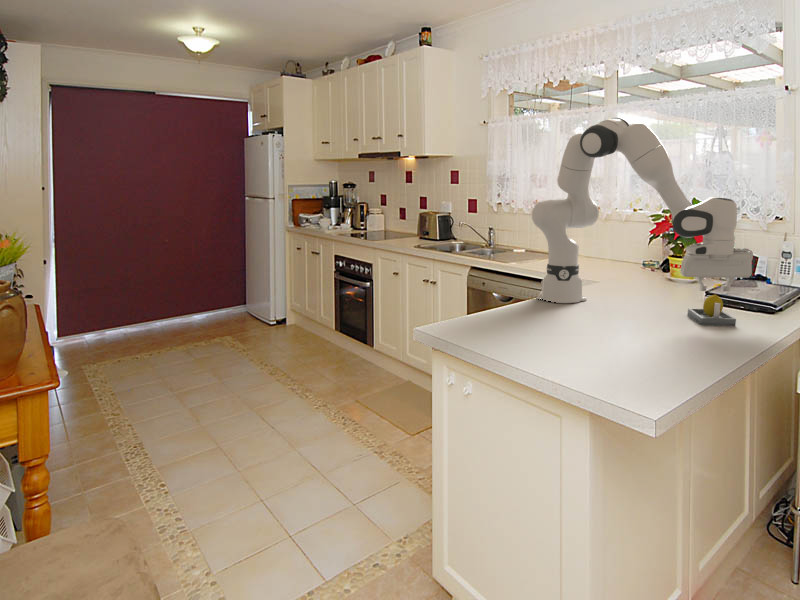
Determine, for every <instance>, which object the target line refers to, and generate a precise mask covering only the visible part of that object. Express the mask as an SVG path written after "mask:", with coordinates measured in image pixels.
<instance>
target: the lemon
mask: <svg viewBox="0 0 800 600" xmlns="http://www.w3.org/2000/svg"><path fill="white" fill-rule="evenodd" d="M707 297H708V298H706V300H705V302H704V301H703V306H702V307H703V308H702V309H703V310H704V312H705V313H706V314H707V315H709V317H713V316H714V306H715V303H721V304H720V313H721V311H723V308H724V302H723V300H722V298H721V297H720V296H718V295H717V294H712V295H709V296H707Z"/></svg>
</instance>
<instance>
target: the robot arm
mask: <svg viewBox="0 0 800 600" xmlns="http://www.w3.org/2000/svg"><path fill="white" fill-rule="evenodd" d="M615 152H619V153H621V154H622V155H623V156H625V158H626V160H627V161H628V163H629V165H630V167H631V168H632V169H633V171H634V172H635V173H636V174H637V175H638V176H639V178H640V179H642V181H643V182H645V183H646V184H648V185H650V186H651V187H652V188H653V189H654V190H655V191H656V192H657V193H658V194H659V196H660V197H661V198H662V201H663V202H664V204H665V205H666V206H667V208H668V211H670V214H671V223H672V228H673V231H674V232H675V233H676V234H677V235H678V236H679V237H682V238H689V239H690V238H695V237H700V236H702V241H701V242H698V243H694V244H691V245H688V246H686V248H685V252H686V253H685V255H683V258H682V260H681V264H680V274H681V276H683V277H685V278H696V281H697V283H698V284H699V291H701V292H706V291H707V286H708V285H707V284H704V283H703V281H704V278H725V281H726V282H725V283H724V284H722V285H721V288H720V289H721V291H722V292H729V287H730V285H732V283H733V282H734V279H735V278H737V279H738V278H740V279H745V278H746V279H747V278H748V279H749V278H750V276H751V277H752V273H753V269H752V268H753V267H752V266H753V265H752V261H753V260H754V259H753V257H754V253H753V251H752V250H751V249H749V248H745V247H744V248H738V247H737V248H736V247H735V240H736V237H735V229H736V227H737V221H738V220H737V219H738V207H737V203H736V202H735V201H734V200H733V199H731V198H727V197H720V196H710V197H709V198H706V200H704V201H702V202H699V203H697V204H692V202H690V200H689V199H688V198H687V197H686V195H685V193H684V192H683V190H682V189H681V187H680V186H679V183H678V182H677V180H676V178H675V175H674V171H673V169H674V168H673V164H672V162H671V158H670V156H669V153H668V152H667V150H666V148H665V146H664V145H663V143H662V142H661V140H660V139H659V137H658V136H657V135H656V134H655V133H654V131H653V130H652V129H651V128H650V127H649V126H648V125H647V124H646V123H644V122H634V123H632V124H631V123H630V122H629V121H628V120H627V119H625V118H622V117H612V118H609V119H605V120H603V121H602V120H601V121H600V122H598V123H596V124H593V125H591V126H589V127H588V128H587V129H586V130H584V131H583V132H582V133H577V134H574V135H572V136H571V137H570V138H569V139H568V141H567V144H566V146H565V149H564V152H563V155H562V159H561V162H560V167H559V172H558V176H557V186H558V187H559V188H560V189H561V190H562V191H563V192H565V193H567V198H566V199H548V200H543V201H539V202H537V203H536V204H535V205H534V207H532V211H531V219H532V222H533V224H534V225H535V226H536V227H537V228H538V229H539V230H540V231H541V232H542V233H543V234H544V236H545V239H546V241H547V247H548V249H547V250H548V261H547V262H548V263H547V265H546V273H547V274H546V275H545V276H544V277H543V278H542V280H541V282H540V287H541V288H540V290H541V291H540V292H539V294H538V295H537V297H536V300H538V299H539V301H544V300H546V301H545V302H548V301H551V302H550V303H554V302H556V303H555V304H557V303H558V304H574V303H579V302H586V301H587V297H586V296H584V295H583V279H582V278H581V277H580V276H579V273H580V264H579V251H580V250H579V245H578V242H577V241H576V240H574V239H572V238H571V237H569V236H568V235H567V231H566V229H583V228H587V227H590V226H594V225H595V223H597V221H598V219H599V214H600V210H599V207H598V205H597V203H596V202H595V201H594V199H592V197H591V195H590V191H589V184H590V179H591V176H592V170H593V168H594V167H593V166H594V163H595V159H596V158H597V159H598V158H603V157H605V156H609V155H613V154H614V153H615ZM540 298H541V300H540ZM542 299H543V300H542Z"/></svg>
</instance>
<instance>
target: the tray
mask: <svg viewBox="0 0 800 600" xmlns="http://www.w3.org/2000/svg"><path fill="white" fill-rule="evenodd" d="M708 297H709V296H705V297H704V301H703V303H704V302H705V300H706V298H708ZM720 304H721V303H715V306H714V316H713V317H709V315H707V314H706V313H705V312H704V310H703V308H687V314H686V316H687V317H688V318H690V319H691V320H692V321H694V322H695V323H696V324H698V325H699V326H700V325H701V326H702V327H723V326H735V327H736V322H737V318H736V317H733V316H732V315H730V314H728V313H727V312H725V311H723V310H722V311H721V313H720ZM701 326H700V327H701Z"/></svg>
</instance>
